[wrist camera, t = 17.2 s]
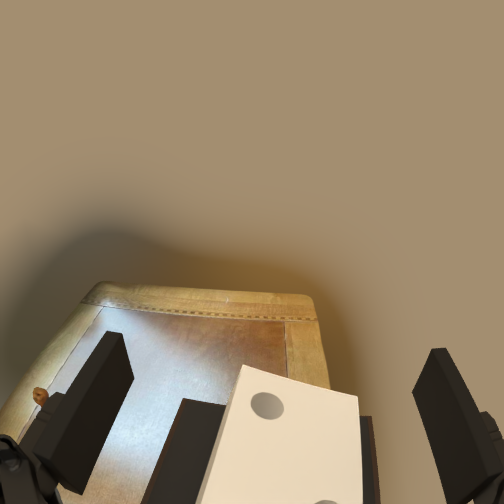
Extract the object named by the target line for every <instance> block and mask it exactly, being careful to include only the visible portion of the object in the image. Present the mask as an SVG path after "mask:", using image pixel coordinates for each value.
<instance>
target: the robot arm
mask: <svg viewBox="0 0 504 504" xmlns="http://www.w3.org/2000/svg"><path fill="white" fill-rule="evenodd" d="M133 380H134V375H133V372H132V368H131V365H130V361H129V358H128V354H127V350H126V346H125V343H124V339H123V335H122V333H117V332H111V331H106V333H105V334H104V336H103V337H102V338H101V340H100V341H99V343H98V344H97V346H96V347H95V349H94V350H93V352H92V353H91V355H90V356H89V358H88V359H87V361H86V362H85V364H84V365H83V367H82V369H81V370H80V372H79V373H78V375H77V376H76V378H75V379H74V381H73V383H72V384H71V386H70V387H69V389H68V390H67V392H66V394H62V393H59V392H56V393H54V394H53V395H52V396H51V397H49V398H48V399H47V400H46V401H45V403H44V405H43V406H42V408H41V411H39V412H38V414H37V416H36V419H34V420H33V422H32V424H31V425H30V427H29V429H28V430H27V432H26V433H25V435H24V437H23V438H22V440H21V442H20V443H19V445H18V444H17V443H16V442H15V441H14V440H13V439H12V438H11V437H10V436H8V435H5V434H2V435H0V504H63V503H62V500H61V497H60V494H59V492H58V490H57V488H56V487H57V485H58V483H60V484H61V485H62V486H63V487H64V488H65V489H67V490H69V491H72V492H74V493H77V494H79V495H83V492H84V490H85V487H86V485H87V482H88V480H89V478H90V475H91V473H92V471H93V468H94V466H95V464H96V461H97V459H98V457H99V454H100V452H101V450H102V448H103V445H104V443H105V441H106V439H107V436H108V434H109V432H110V430H111V427H112V425H113V423H114V421H115V419H116V417H117V414H118V412H119V410H120V408H121V406H122V404H123V401H124V399H125V397H126V395H127V393H128V391H129V389H130V387H131V385H132V382H133ZM412 394H413V396H414V399H415V402H416V405H417V407H418V410H419V413H420V416H421V419H422V422H423V425H424V428H425V430H426V434H427V437H428V440H429V443H430V446H431V449H432V453H433V456H434V459H435V463H436V466H437V469H438V473H439V476H440V480H441V483H442V487H443V491H444V494H445V498H446V502H447V504H467V503H468V502H470V501H471V500H472V499H473V501H474V504H504V439H502V435H501V433H500V431H499V428H498V426H497V424H496V422H495V420H494V419H493V418H492V417H491V416H490V414H488V412H486V411H485V412H481V413H480V412H479V410H478V408H477V406H476V404H475V402H474V400H473V398H472V396H471V394H470V392H469V390H468V388H467V386H466V384H465V382H464V380H463V378H462V377H461V374H460V373H459V371H458V369H457V367H456V366H455V363H454V362H453V360H452V358H451V356H450V354H449V353H448V351H447V349H446V348H436V349H431V352H430V354H429V356H428V359H427V361H426V363H425V365H424V368H423V370H422V372H421V374H420V376H419V378H418V381H417V383H416V385H415V387H414V389H413V391H412Z"/></svg>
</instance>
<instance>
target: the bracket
mask: <svg viewBox="0 0 504 504" xmlns="http://www.w3.org/2000/svg"><path fill="white" fill-rule="evenodd" d="M195 504H363V485H362V455H361V436H360V421H359V408H358V397H357V396H353V395H349V394H344V393H340V392H336V391H332V390H328V389H324V388H321V387H317V386H313V385H309V384H306V383H302V382H298V381H295V380H291V379H288V378H284V377H281V376H278V375H274V374H271V373H268V372H265V371H261V370H258V369H255V368H252V367H249V366H246V365H242V368H241V370H240V373H239V375H238V378H237V380H236V383H235V385H234V387H233V390H232V392H231V395H230V397H229V399H228V402H227V406H226V409H225V412H224V415H223V419H222V422H221V425H220V428H219V431H218V435H217V438H216V441H215V444H214V447H213V450H212V454H211V457H210V460H209V463H208V466H207V469H206V472H205V475H204V479H203V482H202V485H201V488H200V491H199V494H198V497H197V500H196V503H195Z"/></svg>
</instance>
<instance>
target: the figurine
mask: <svg viewBox="0 0 504 504" xmlns="http://www.w3.org/2000/svg"><path fill="white" fill-rule="evenodd" d="M48 398H49V394H48V392H47V391H46V390H45V389H43V388H39V387H36V388H34V391H33V399H34V400H35V402H36V403H37V404H39V405H40V406H41V408H42V406H43V405H44V403H45V401H46V400H47V399H48Z"/></svg>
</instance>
